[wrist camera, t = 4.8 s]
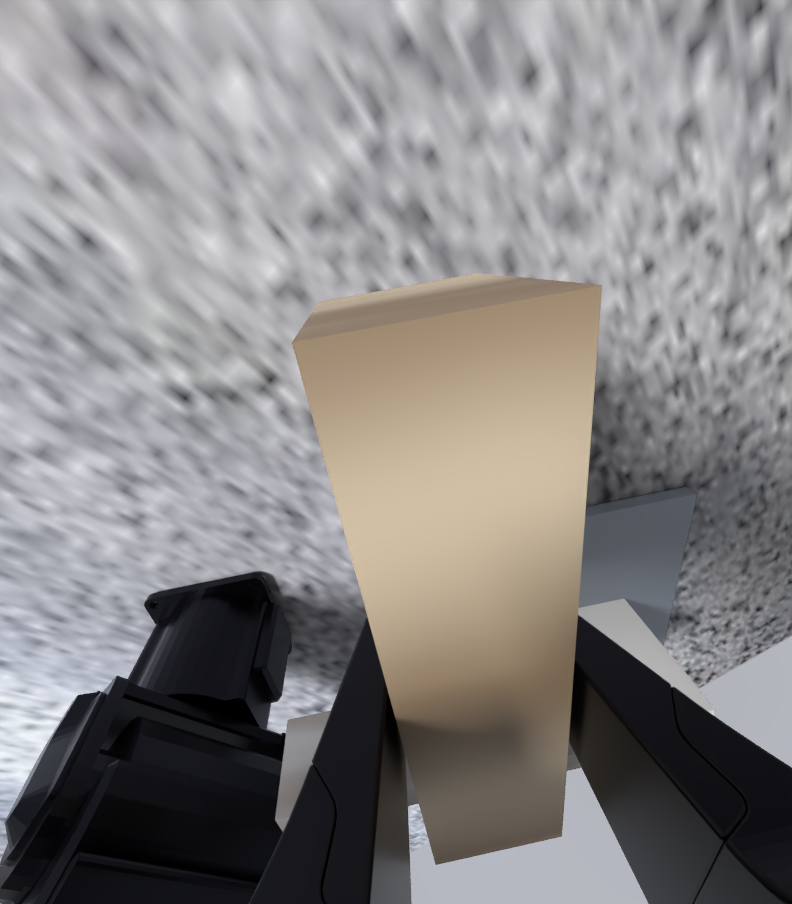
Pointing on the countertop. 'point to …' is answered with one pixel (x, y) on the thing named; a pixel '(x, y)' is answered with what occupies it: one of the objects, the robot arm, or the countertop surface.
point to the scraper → (462, 535)
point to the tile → (641, 644)
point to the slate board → (637, 553)
